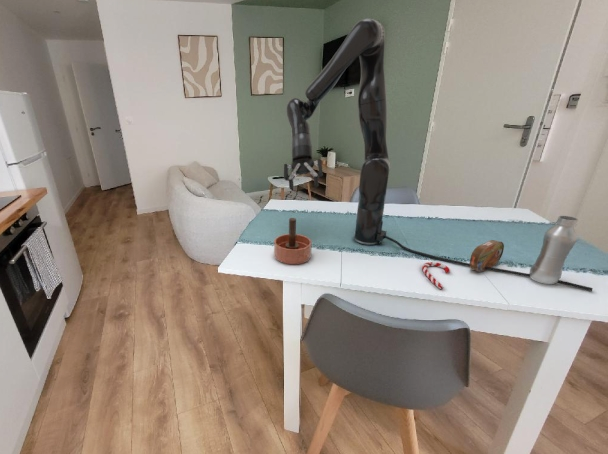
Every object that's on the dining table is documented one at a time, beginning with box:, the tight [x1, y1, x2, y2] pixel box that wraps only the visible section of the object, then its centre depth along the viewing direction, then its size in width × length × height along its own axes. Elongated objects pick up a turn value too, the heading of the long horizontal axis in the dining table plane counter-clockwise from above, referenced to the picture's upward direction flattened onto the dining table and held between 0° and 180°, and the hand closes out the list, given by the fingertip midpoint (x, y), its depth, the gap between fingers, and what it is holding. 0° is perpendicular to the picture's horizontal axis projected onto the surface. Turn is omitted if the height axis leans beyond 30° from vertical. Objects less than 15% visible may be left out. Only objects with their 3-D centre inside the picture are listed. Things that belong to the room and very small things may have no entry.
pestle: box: [285, 217, 299, 249], centre depth 104 cm, size 5×5×14 cm
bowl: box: [273, 233, 313, 265], centre depth 105 cm, size 13×13×6 cm
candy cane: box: [421, 261, 451, 290], centre depth 90 cm, size 8×1×15 cm
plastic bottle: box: [528, 215, 579, 285], centre depth 82 cm, size 6×7×20 cm
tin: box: [468, 239, 505, 273], centre depth 93 cm, size 15×3×8 cm, turn 117°
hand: (303, 188), depth 108 cm, fingers open, 8 cm apart
